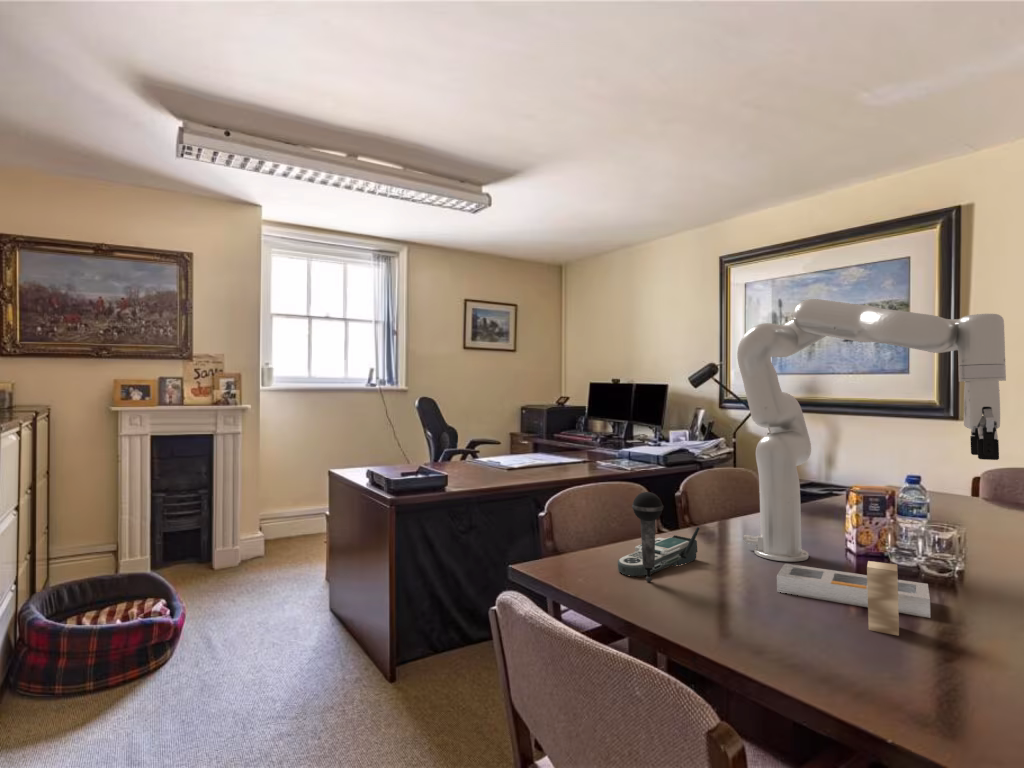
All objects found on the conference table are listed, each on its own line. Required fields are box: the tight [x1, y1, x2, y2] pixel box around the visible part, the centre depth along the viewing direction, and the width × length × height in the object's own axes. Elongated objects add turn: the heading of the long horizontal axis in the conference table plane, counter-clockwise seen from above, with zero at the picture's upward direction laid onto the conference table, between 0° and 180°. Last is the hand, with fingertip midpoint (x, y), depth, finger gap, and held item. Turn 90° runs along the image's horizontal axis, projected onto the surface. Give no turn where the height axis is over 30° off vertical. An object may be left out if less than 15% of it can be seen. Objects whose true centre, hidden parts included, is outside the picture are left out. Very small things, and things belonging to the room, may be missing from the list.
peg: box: [866, 560, 900, 636], centre depth 100 cm, size 4×4×11 cm
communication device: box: [617, 527, 700, 577], centre depth 139 cm, size 12×24×9 cm, turn 128°
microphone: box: [631, 491, 664, 583], centre depth 127 cm, size 7×7×20 cm
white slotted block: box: [776, 563, 931, 619], centre depth 116 cm, size 26×10×4 cm, turn 56°
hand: (984, 457), depth 117 cm, fingers open, 9 cm apart
